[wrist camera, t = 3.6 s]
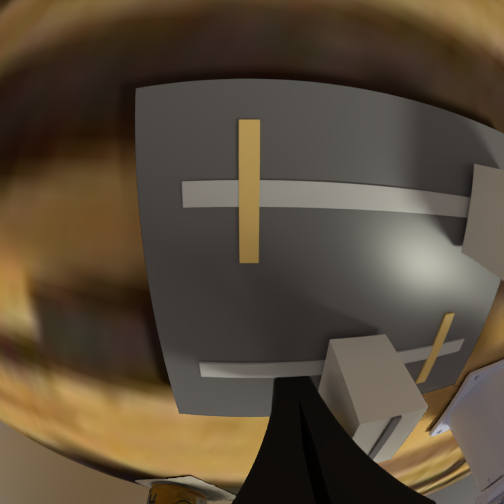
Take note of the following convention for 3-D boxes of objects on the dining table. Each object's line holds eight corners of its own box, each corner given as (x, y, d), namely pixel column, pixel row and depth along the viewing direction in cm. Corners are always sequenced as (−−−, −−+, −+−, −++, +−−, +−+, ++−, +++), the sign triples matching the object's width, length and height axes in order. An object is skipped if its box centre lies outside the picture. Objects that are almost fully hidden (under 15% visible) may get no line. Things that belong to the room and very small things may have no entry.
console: (502, 140, 9) (524, 143, 7) (444, 369, 14) (455, 385, 12) (151, 95, 8) (134, 87, 7) (183, 392, 13) (178, 415, 12)
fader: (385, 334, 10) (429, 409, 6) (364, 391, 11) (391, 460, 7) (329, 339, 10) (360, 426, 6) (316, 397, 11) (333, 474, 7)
